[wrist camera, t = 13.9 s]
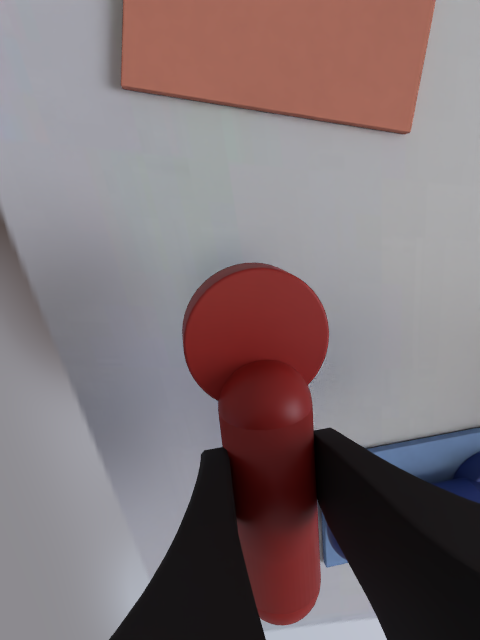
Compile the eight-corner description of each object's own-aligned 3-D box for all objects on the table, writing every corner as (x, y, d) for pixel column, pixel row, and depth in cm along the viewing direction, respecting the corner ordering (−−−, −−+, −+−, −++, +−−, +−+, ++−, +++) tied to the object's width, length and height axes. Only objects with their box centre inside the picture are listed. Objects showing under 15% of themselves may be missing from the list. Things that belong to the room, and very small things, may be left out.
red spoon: (325, 558, 14) (357, 630, 12) (217, 583, 14) (227, 663, 11) (312, 254, 11) (350, 266, 9) (173, 271, 11) (173, 287, 8)
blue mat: (323, 561, 21) (326, 568, 21) (318, 457, 19) (321, 462, 19) (570, 505, 23) (577, 510, 22) (586, 406, 21) (593, 410, 21)
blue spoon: (320, 548, 20) (340, 595, 18) (317, 482, 19) (338, 522, 17) (513, 506, 22) (558, 543, 19) (521, 442, 20) (569, 473, 18)
